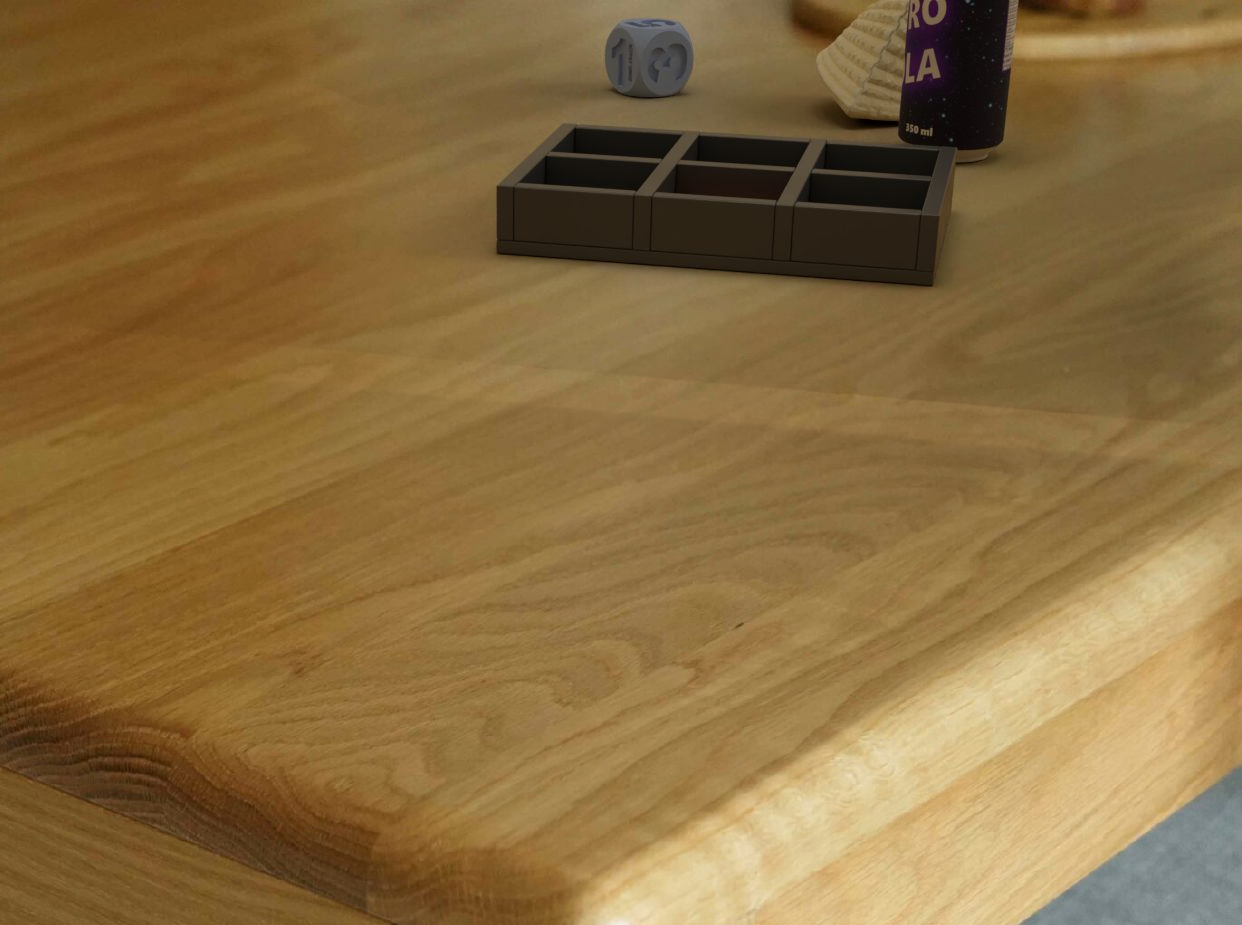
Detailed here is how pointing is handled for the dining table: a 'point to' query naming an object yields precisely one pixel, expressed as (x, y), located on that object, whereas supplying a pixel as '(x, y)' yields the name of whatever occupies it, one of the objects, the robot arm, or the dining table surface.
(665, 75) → the decorative dice
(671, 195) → the grid
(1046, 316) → the dining table surface
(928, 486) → the dining table surface
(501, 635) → the dining table surface
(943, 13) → the beverage can
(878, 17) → the seashell
